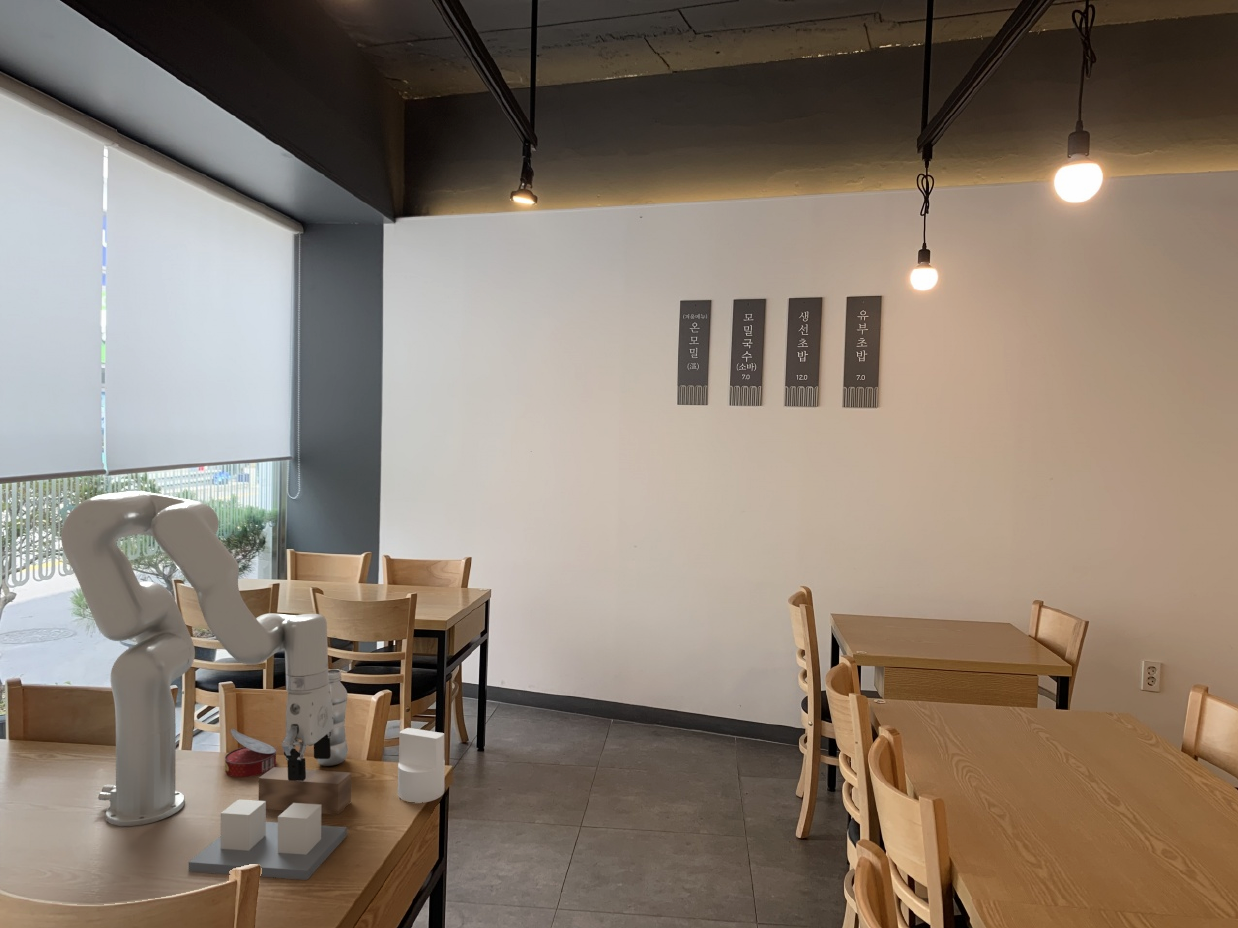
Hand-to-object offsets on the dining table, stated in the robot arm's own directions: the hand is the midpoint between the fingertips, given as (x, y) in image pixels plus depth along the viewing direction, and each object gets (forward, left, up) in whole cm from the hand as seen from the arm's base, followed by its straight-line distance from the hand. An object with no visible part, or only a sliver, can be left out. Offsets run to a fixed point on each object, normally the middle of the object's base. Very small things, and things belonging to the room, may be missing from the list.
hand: (310, 768), depth 147 cm
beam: (-1, 0, -7) cm, 7 cm away
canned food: (-21, +15, -7) cm, 27 cm away
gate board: (+2, -17, -7) cm, 19 cm away
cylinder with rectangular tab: (+19, +8, -7) cm, 22 cm away
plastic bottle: (-5, +19, -7) cm, 21 cm away
